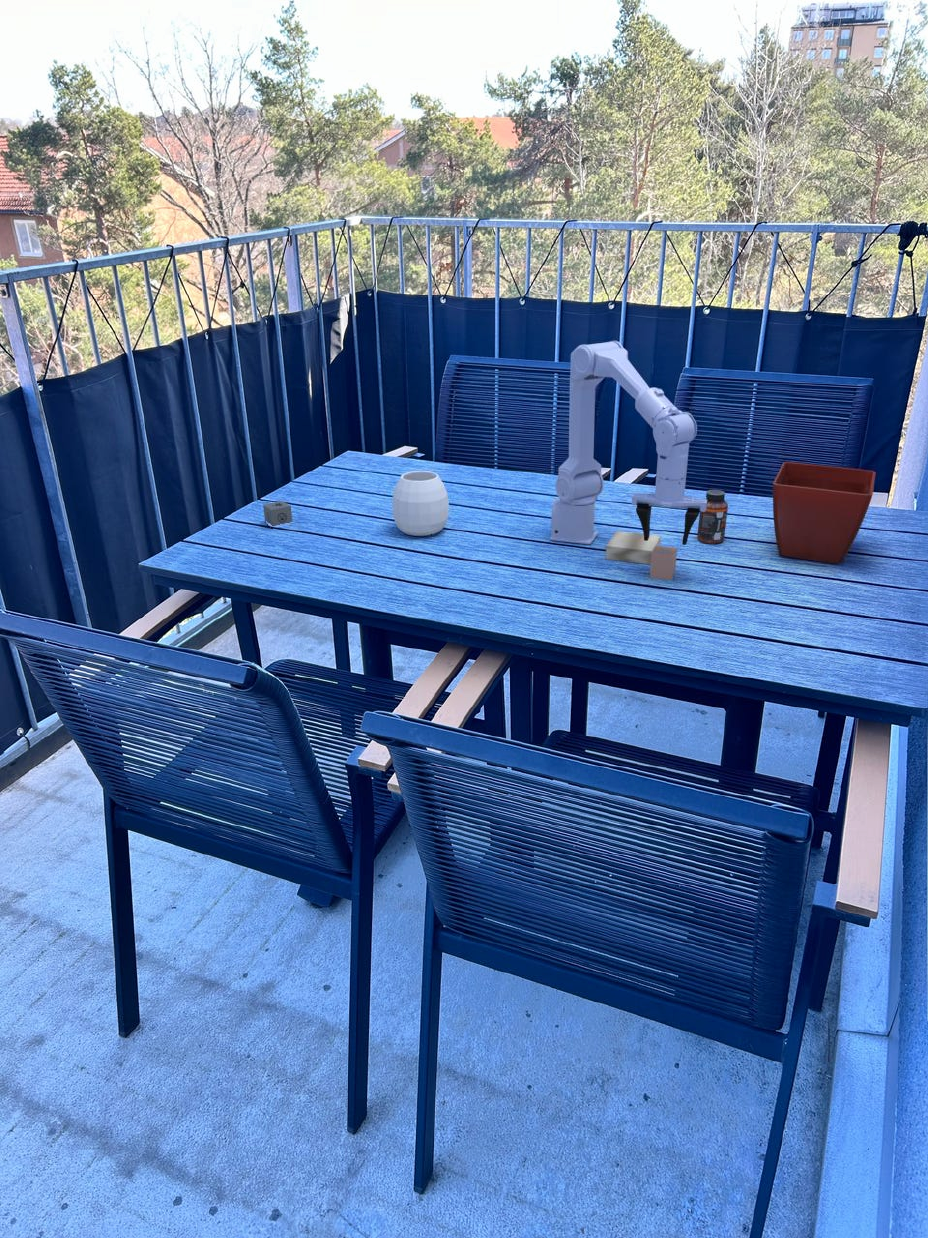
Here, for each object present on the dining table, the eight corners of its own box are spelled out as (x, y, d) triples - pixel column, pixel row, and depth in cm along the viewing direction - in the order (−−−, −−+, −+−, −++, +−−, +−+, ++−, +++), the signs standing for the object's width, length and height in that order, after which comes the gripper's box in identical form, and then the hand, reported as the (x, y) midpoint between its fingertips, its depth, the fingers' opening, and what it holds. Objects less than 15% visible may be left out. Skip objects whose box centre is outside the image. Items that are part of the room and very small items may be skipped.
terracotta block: (649, 577, 183) (651, 552, 180) (653, 569, 186) (655, 545, 184) (671, 580, 181) (674, 555, 179) (674, 572, 185) (677, 547, 183)
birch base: (605, 558, 192) (606, 545, 191) (615, 543, 201) (615, 530, 199) (651, 564, 189) (653, 551, 188) (659, 548, 197) (660, 535, 196)
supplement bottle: (724, 545, 199) (730, 496, 194) (697, 543, 200) (702, 495, 195) (723, 536, 204) (728, 488, 199) (696, 534, 205) (701, 487, 200)
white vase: (384, 536, 207) (380, 480, 201) (408, 519, 218) (405, 465, 212) (435, 543, 202) (434, 486, 196) (457, 525, 213) (456, 470, 207)
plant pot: (862, 543, 199) (876, 469, 192) (857, 573, 183) (872, 494, 176) (773, 531, 206) (783, 460, 199) (761, 559, 191) (772, 483, 183)
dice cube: (292, 525, 215) (290, 505, 213) (273, 529, 212) (271, 509, 210) (284, 520, 219) (282, 500, 217) (265, 524, 216) (263, 504, 214)
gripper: (630, 478, 174) (626, 543, 180) (706, 485, 169) (699, 551, 175) (637, 469, 180) (632, 532, 185) (710, 475, 175) (703, 540, 181)
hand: (665, 541), depth 181 cm, fingers open, 7 cm apart
